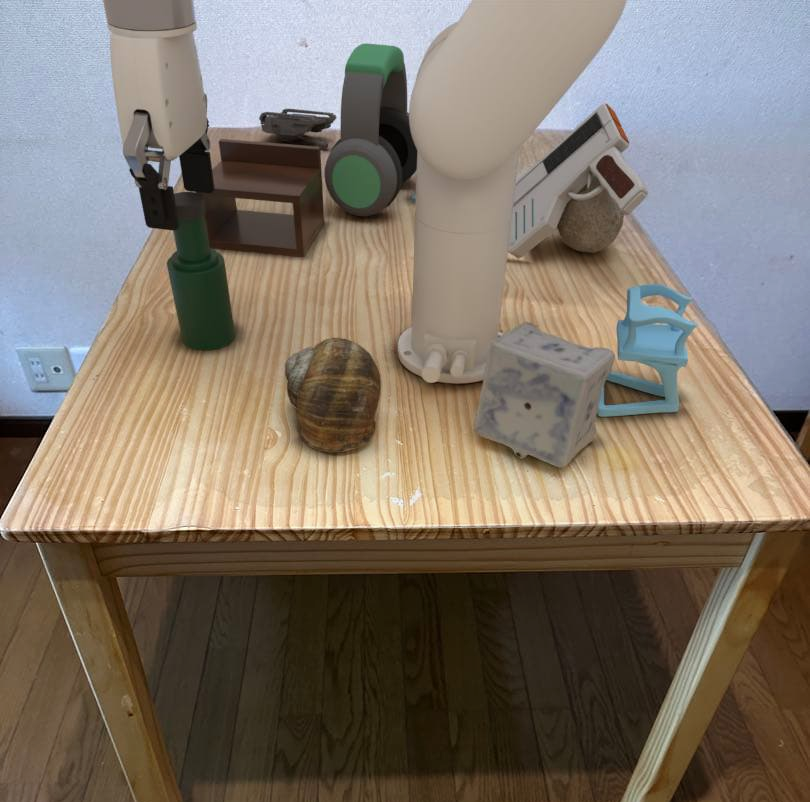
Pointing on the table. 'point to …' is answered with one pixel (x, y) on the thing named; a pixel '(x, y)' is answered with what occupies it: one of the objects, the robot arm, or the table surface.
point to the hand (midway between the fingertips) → (182, 208)
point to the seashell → (334, 394)
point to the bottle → (199, 280)
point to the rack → (265, 197)
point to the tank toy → (296, 124)
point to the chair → (651, 349)
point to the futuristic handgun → (574, 179)
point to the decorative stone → (590, 221)
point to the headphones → (372, 133)
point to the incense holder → (541, 394)
